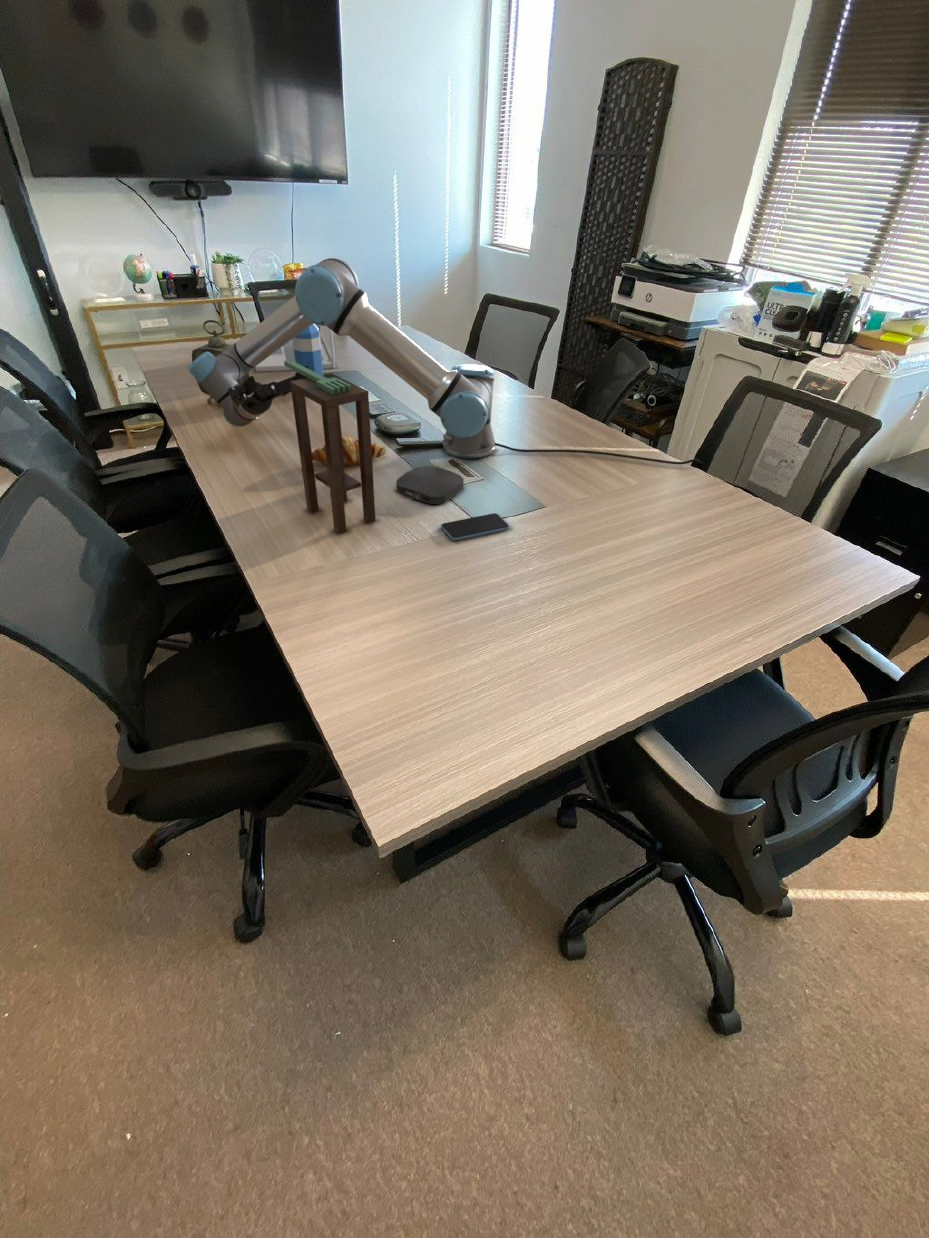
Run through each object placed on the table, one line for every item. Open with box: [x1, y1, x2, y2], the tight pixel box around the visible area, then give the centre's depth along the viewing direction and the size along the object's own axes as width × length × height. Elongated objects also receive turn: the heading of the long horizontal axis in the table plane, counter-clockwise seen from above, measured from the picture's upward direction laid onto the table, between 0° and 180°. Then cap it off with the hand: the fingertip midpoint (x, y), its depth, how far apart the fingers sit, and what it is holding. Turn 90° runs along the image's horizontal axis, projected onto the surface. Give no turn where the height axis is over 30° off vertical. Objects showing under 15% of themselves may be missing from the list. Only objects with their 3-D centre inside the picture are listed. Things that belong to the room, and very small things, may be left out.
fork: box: [284, 360, 351, 395], centre depth 126 cm, size 22×4×1 cm, turn 42°
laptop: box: [254, 325, 336, 372], centre depth 231 cm, size 40×29×28 cm
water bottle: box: [292, 323, 324, 375], centre depth 200 cm, size 9×9×25 cm
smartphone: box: [440, 512, 510, 541], centre depth 140 cm, size 7×1×15 cm
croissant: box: [312, 435, 387, 467], centre depth 164 cm, size 21×10×8 cm, turn 112°
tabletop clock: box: [191, 319, 250, 405], centre depth 187 cm, size 14×9×25 cm, turn 76°
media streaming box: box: [396, 465, 465, 505], centre depth 154 cm, size 15×15×3 cm
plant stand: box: [290, 372, 376, 535], centre depth 133 cm, size 14×10×30 cm
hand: (281, 376), depth 137 cm, fingers open, 13 cm apart
